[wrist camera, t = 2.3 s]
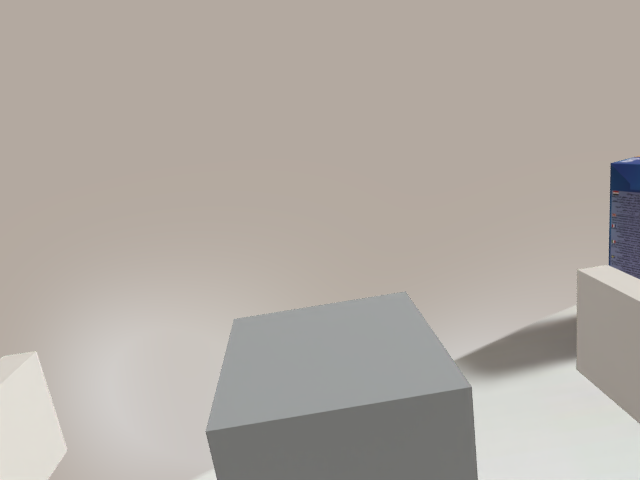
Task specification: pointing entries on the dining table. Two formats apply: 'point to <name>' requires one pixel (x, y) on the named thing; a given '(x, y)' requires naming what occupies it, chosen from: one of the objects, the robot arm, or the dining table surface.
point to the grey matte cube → (341, 397)
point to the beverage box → (625, 216)
